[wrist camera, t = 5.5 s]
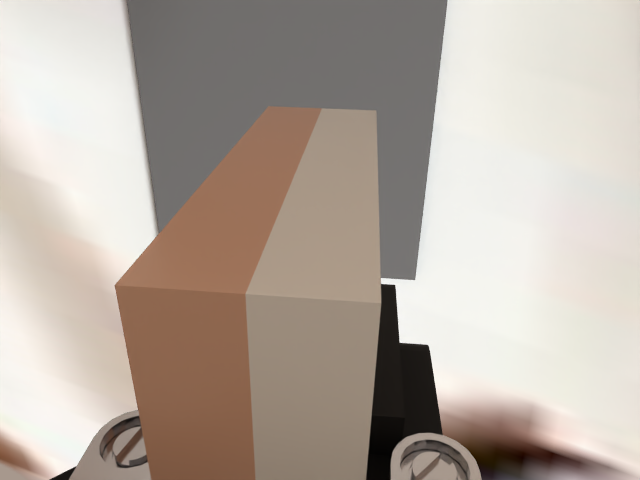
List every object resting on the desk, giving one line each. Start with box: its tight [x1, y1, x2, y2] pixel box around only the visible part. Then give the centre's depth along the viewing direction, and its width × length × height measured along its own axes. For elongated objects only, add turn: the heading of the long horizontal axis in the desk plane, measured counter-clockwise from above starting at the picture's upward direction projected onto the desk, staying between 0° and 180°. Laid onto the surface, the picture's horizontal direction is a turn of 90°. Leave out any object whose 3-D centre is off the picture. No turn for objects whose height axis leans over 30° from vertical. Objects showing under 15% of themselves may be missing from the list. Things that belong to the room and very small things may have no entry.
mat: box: [127, 0, 447, 280], centre depth 23 cm, size 26×14×1 cm, turn 179°
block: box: [115, 106, 381, 480], centre depth 10 cm, size 10×2×7 cm, turn 179°
